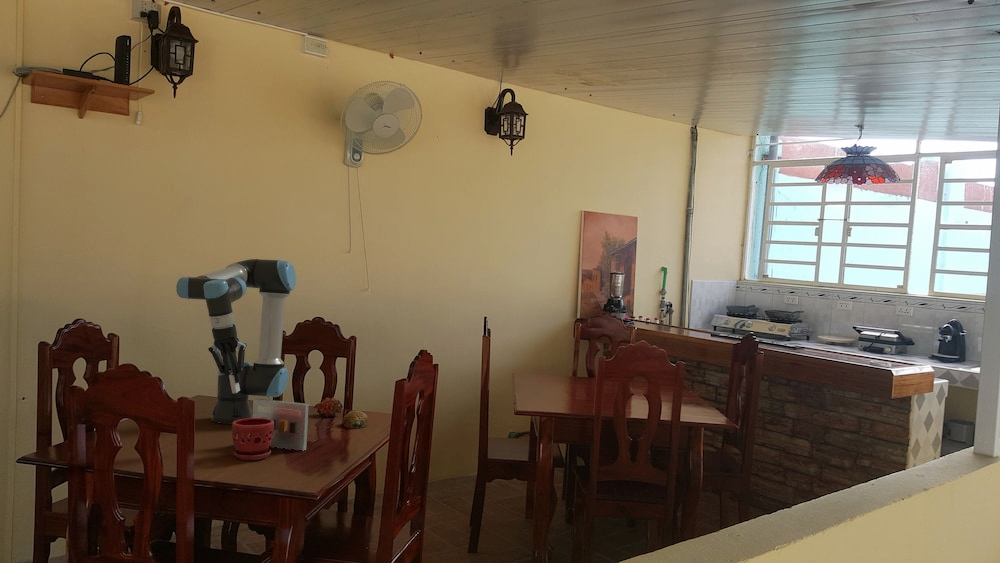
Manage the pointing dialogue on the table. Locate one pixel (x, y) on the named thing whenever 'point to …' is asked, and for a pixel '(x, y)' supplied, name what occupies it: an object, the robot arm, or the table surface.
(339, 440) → the table surface
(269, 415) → the breaker panel
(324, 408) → the dragon fruit
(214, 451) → the table surface
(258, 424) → the plant pot
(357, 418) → the bread roll
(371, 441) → the table surface
